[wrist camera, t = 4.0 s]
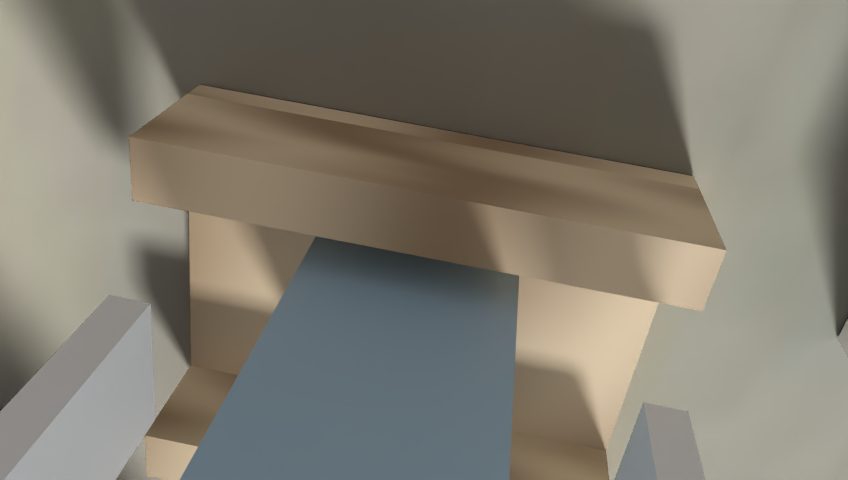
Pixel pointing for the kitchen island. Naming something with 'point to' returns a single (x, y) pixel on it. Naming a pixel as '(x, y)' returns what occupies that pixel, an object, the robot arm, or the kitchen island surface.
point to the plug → (373, 375)
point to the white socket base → (844, 337)
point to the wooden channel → (423, 251)
